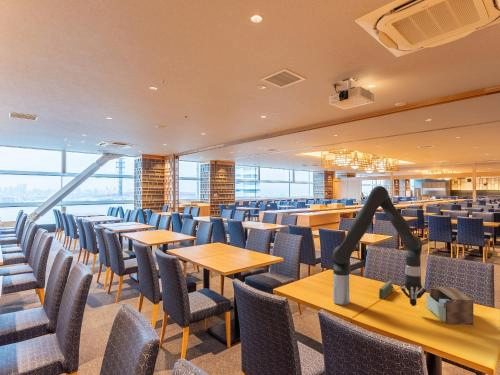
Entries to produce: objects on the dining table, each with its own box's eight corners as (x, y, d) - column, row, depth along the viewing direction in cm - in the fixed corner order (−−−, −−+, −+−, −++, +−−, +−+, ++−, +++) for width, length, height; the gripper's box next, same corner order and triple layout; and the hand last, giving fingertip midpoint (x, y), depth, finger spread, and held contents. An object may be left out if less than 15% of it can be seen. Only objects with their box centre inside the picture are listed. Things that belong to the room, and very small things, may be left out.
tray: (443, 321, 146) (443, 308, 146) (426, 306, 165) (426, 294, 165) (469, 323, 144) (469, 310, 144) (448, 307, 163) (448, 295, 163)
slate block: (443, 313, 152) (443, 302, 152) (439, 309, 157) (438, 298, 157) (454, 314, 151) (454, 302, 151) (449, 310, 156) (448, 299, 156)
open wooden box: (447, 323, 145) (447, 298, 145) (429, 308, 164) (429, 286, 164) (473, 325, 144) (473, 300, 144) (452, 309, 162) (452, 287, 162)
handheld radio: (378, 298, 180) (389, 287, 198) (383, 300, 177) (394, 289, 196) (378, 288, 179) (390, 278, 198) (384, 289, 177) (395, 279, 196)
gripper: (423, 272, 159) (423, 303, 159) (397, 271, 161) (397, 302, 161) (429, 276, 152) (429, 309, 152) (402, 275, 154) (402, 307, 154)
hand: (413, 305), depth 157 cm, fingers closed
